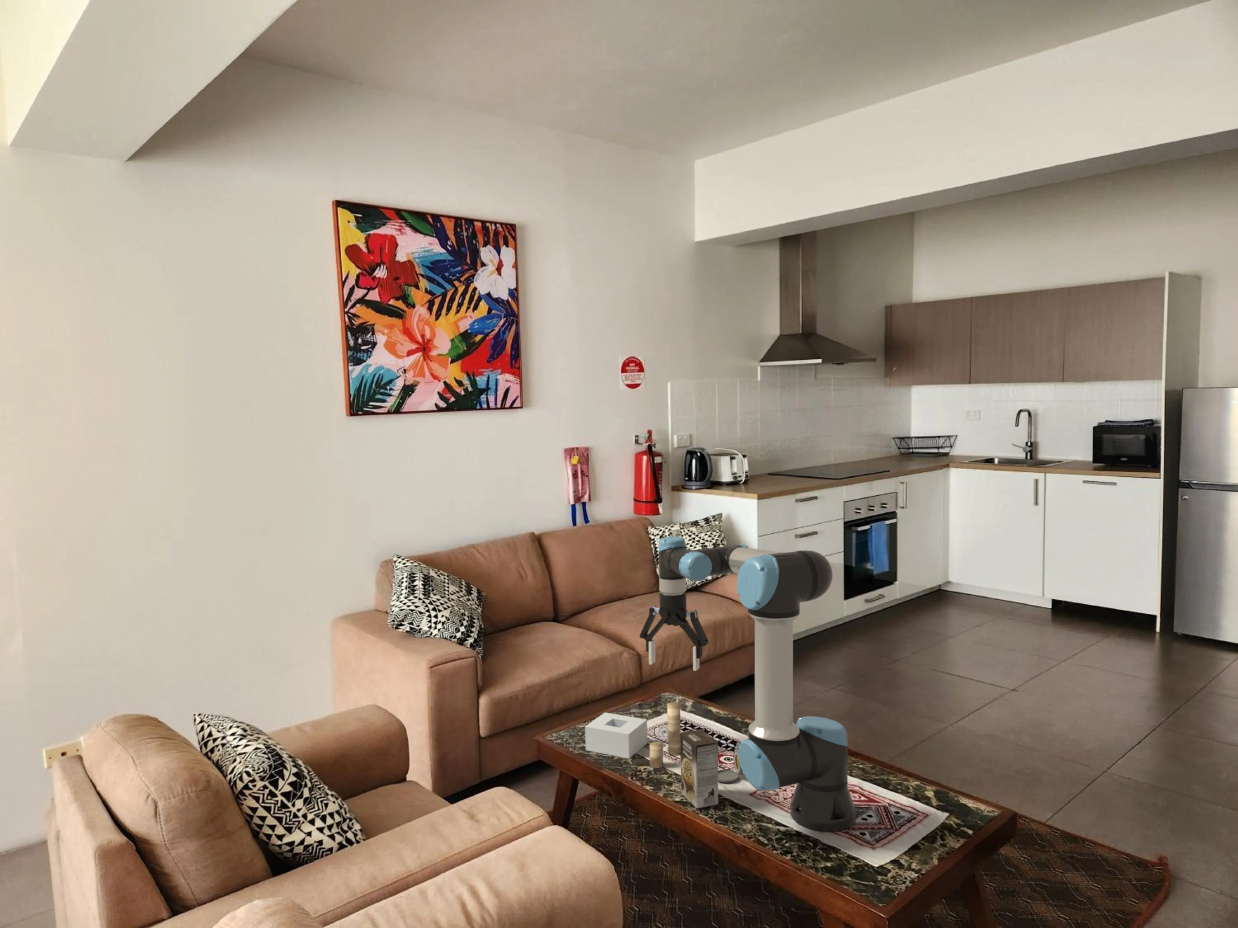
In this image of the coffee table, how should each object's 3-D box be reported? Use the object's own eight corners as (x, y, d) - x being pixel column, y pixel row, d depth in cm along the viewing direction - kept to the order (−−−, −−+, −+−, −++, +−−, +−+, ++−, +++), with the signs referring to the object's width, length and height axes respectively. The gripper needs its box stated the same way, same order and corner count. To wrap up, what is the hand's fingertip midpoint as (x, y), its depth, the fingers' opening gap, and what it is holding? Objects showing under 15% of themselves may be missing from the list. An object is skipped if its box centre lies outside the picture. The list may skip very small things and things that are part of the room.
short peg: (659, 769, 230) (659, 747, 229) (647, 766, 231) (647, 745, 231) (665, 764, 233) (664, 743, 232) (653, 761, 235) (653, 740, 234)
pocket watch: (707, 778, 224) (707, 741, 223) (728, 768, 229) (728, 732, 228) (731, 788, 217) (730, 750, 217) (752, 778, 223) (752, 741, 222)
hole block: (629, 758, 237) (628, 734, 237) (585, 749, 244) (585, 726, 243) (647, 742, 248) (647, 719, 247) (605, 734, 254) (604, 712, 254)
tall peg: (677, 755, 238) (676, 707, 237) (666, 753, 240) (665, 705, 239) (682, 751, 241) (681, 703, 240) (671, 748, 243) (670, 701, 242)
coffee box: (680, 793, 215) (678, 731, 214) (702, 788, 218) (701, 727, 217) (696, 809, 207) (695, 745, 206) (719, 804, 209) (718, 740, 208)
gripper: (719, 593, 234) (720, 667, 236) (638, 585, 246) (640, 656, 248) (709, 599, 228) (710, 676, 230) (627, 591, 239) (628, 664, 241)
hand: (674, 666), depth 239 cm, fingers open, 13 cm apart
